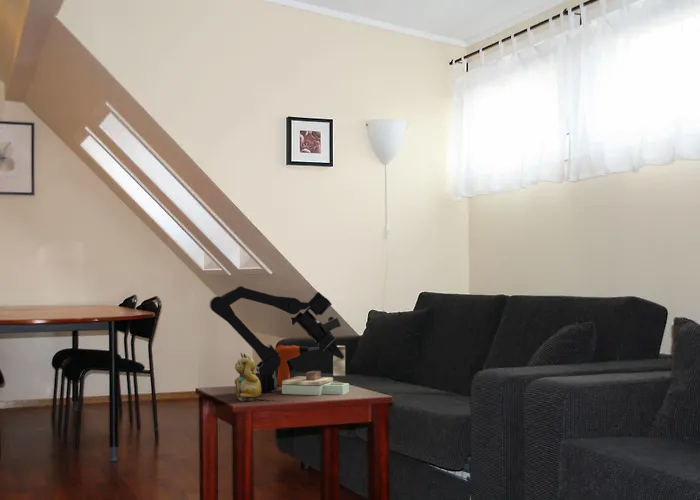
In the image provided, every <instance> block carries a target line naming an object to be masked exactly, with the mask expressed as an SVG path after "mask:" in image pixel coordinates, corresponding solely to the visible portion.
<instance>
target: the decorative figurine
mask: <svg viewBox="0 0 700 500" xmlns="http://www.w3.org/2000/svg"><path fill="white" fill-rule="evenodd" d="M234 369H235V371H236V372H237V373H238V374H239V375H238V377H237V378H235V379H234V384H235V396H236V397H237V400H239V401H241V402H245V401H246V402H247V401H251V402H252V401H256V397H259V396H261V394H262V392H261V383H260V381H259V379H258V377H257V376H256V375H255V373H256V371H255V369H256V362H255V360H254V359H253V358H251V356H250V355H249V354H248V353H245V352H240V358H238V359H237V361H236V363H235V365H234Z"/></svg>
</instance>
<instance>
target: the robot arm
mask: <svg viewBox="0 0 700 500" xmlns="http://www.w3.org/2000/svg"><path fill="white" fill-rule="evenodd" d="M240 299H244V300H249V301H253V302H256V303H259V304H264V305H268V306H271V307H273V308H276V309H278V310H280V311H282V312H283V313H286V314H289V315H295V316H294V317H290V322H291V323H290V325H291V326H294V325H295V324H296V323H297V324H298V326H300V328H301V329H303V331H305V332H306V334H307V335H308V336H309V337H310V338H311V339H312V340H313V341H314V342H315V343H316V344H317V345H318V346H317V347H319V348H320V349H319V350H321V351H323V352H325V353H327V354H329V355H332V356H333V355H334V356H336V357H338V358H341V359H343V358H344V356H343V354H342V353H341V351H340V350H339V348H338V347H337V346H338V345H337V339H336V336H335V335H334V333H333V332H332V331H333V330H334V329H337V328H340V327H342V326H343V325H342V323H341V321H340V319H339V317H338V316H337V317H333V316H330V317H328V318H327V321H325V322H324V323H322V322H321V321H319V320H318V319H317V318H316V317H317V316H319V317H321V316H322V315H324V313H325V312H326V311H327V310H328V309H330V308H331V306H332V305H333V304H332V302H331V301H330V300H329V299H328V298H327V297H326V296H324V295H323V294H321V292H320V291H316V293H315V294H314V295H313V296H312V297H311V298H310V299H309V300H308V301H300V299H298V298H297V297H292V296H281V295H279V296H277V295H273V294H269V293H265V292H261V291H258V290H254V289H251V288H246V287H244V286H241V285H239V286H236V287H235V288H233V289H232V290H230V291H228V292H226V293H225V294H224V293H223V294H222V295H221V296H219V295H216V296H213V297H212V298H211V299H210V301H209V305H208V306H209V309H210V310H211V311H212V313H215V314H216V315H217V316H218V317H220V318H221V319H223V320H224V321H225V322H227V323H228V325H230V326H231V327H232V329H233V330H234V331H236V333H237V334H238V335H239V336H240V337H241V338H242V339H243V340H244V341H245V342H246V344H248V345H249V346H250V348H251V349H252V350H253V351H254V352H255V354H256V355H257V357H258V358H259V360H260V361H259V363H257V364H256V365H255V369H256V372H255V375H256V376H257V377H258V379H259V381H260V383H261V393H273V392H276V391H278V386H277V377H276V375H277V374H276V370H277V369H278V367H279V366H280V363H281V359H280V357H279V355H278V354H279V353H278V352H277V351H275V348H274V346H273V345H272V344H270V343H268V344H267V345H265V344H264V343H263V342H262V341H261V340H260V339H259V338H258V337H257V336H256V335H255V334H254V333H253V331H252V330H251V329H250V328H248V326H247V325H246V324H245V323H244V322H243V321H242V320H241V319H240V318H239V317H238V316H237V315H236V313H235V311H234V310H233V309H232V307H231V305H232V304H234V303H236V302H237V301H238V300H240ZM303 310H305V311H303ZM301 311H303V312H301Z"/></svg>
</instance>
